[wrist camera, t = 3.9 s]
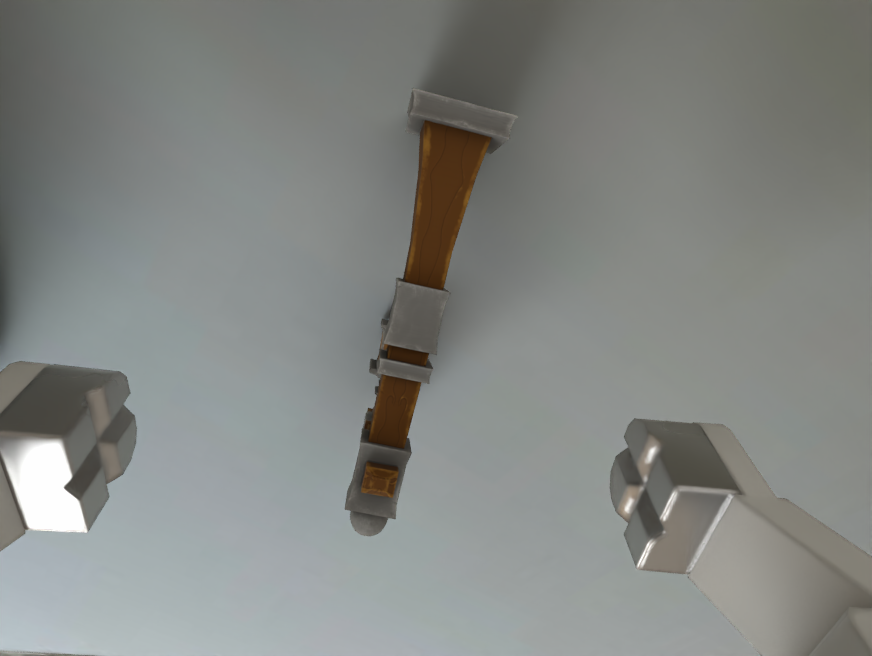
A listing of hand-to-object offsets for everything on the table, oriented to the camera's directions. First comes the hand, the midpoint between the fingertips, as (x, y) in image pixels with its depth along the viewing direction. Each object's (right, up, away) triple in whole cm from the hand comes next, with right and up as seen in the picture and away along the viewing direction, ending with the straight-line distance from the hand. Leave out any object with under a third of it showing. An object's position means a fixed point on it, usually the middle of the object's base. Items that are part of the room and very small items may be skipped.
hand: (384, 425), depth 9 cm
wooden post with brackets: (+1, +3, +4) cm, 5 cm away
